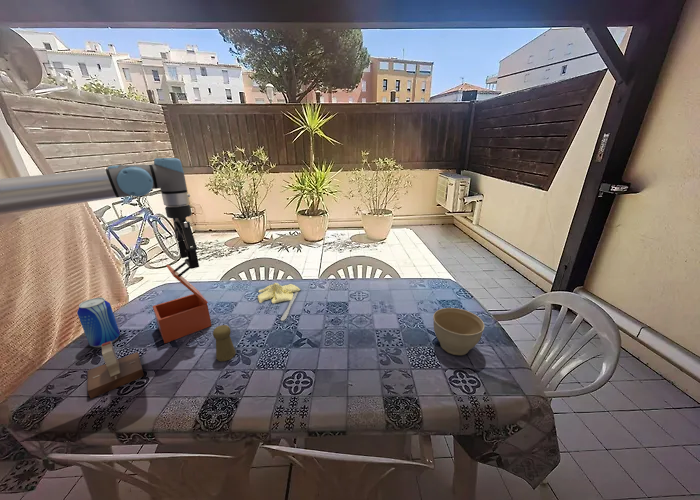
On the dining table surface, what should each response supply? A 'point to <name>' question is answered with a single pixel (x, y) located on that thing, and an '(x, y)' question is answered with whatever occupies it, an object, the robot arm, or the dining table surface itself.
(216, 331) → the cork
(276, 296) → the cloth
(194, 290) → the box lid
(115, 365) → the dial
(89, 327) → the beer can
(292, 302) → the butter knife
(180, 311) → the orange box
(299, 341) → the dining table surface
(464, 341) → the planter bowl
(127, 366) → the brown flat block
